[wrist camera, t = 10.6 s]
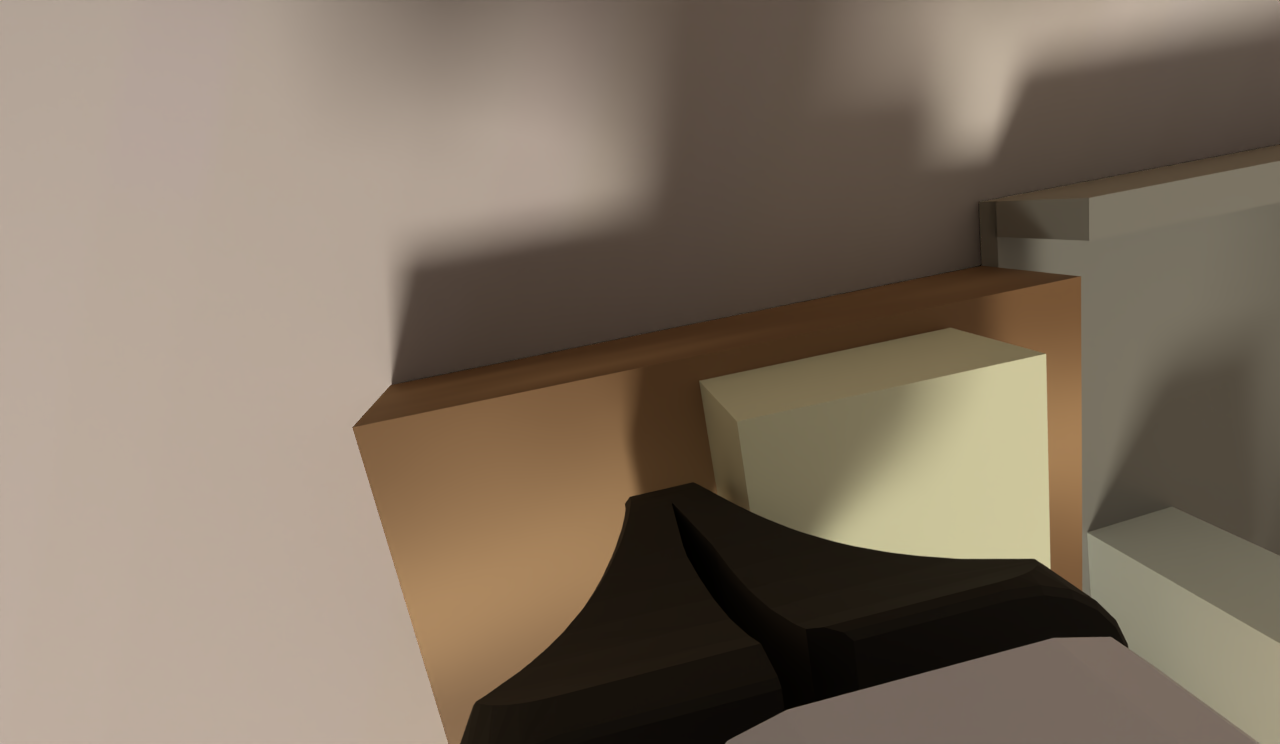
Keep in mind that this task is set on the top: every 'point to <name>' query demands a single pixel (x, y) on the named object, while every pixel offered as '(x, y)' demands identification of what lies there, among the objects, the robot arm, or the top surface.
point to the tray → (1168, 334)
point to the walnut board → (638, 455)
